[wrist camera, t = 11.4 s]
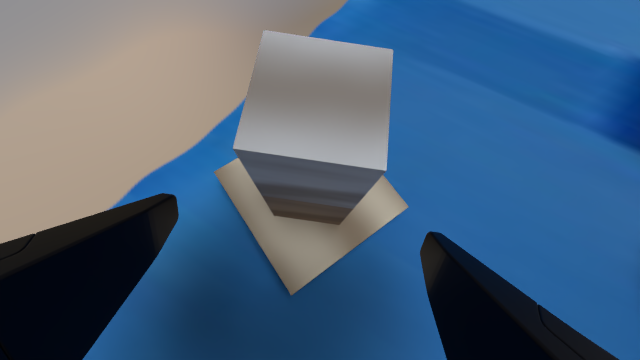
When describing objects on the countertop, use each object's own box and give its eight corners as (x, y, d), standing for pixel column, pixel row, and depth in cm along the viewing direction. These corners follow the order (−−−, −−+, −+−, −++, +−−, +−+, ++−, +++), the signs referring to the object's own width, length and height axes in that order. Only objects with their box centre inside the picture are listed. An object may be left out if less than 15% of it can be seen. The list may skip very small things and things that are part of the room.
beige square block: (293, 291, 21) (291, 295, 18) (224, 183, 23) (213, 171, 21) (395, 213, 23) (408, 206, 21) (324, 123, 26) (327, 105, 23)
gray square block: (339, 225, 20) (386, 170, 8) (274, 215, 20) (232, 148, 8) (346, 164, 21) (392, 49, 10) (285, 155, 21) (263, 30, 10)
